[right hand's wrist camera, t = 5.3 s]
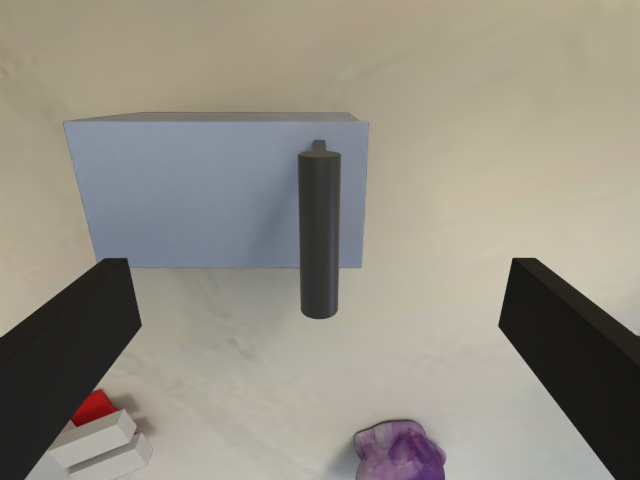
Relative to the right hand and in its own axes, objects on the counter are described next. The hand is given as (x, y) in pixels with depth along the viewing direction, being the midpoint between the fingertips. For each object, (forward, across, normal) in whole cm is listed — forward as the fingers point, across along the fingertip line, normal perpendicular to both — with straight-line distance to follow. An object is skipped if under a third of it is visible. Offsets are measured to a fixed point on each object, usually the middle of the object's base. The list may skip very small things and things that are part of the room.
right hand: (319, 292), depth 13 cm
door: (+12, -6, 0) cm, 14 cm away
